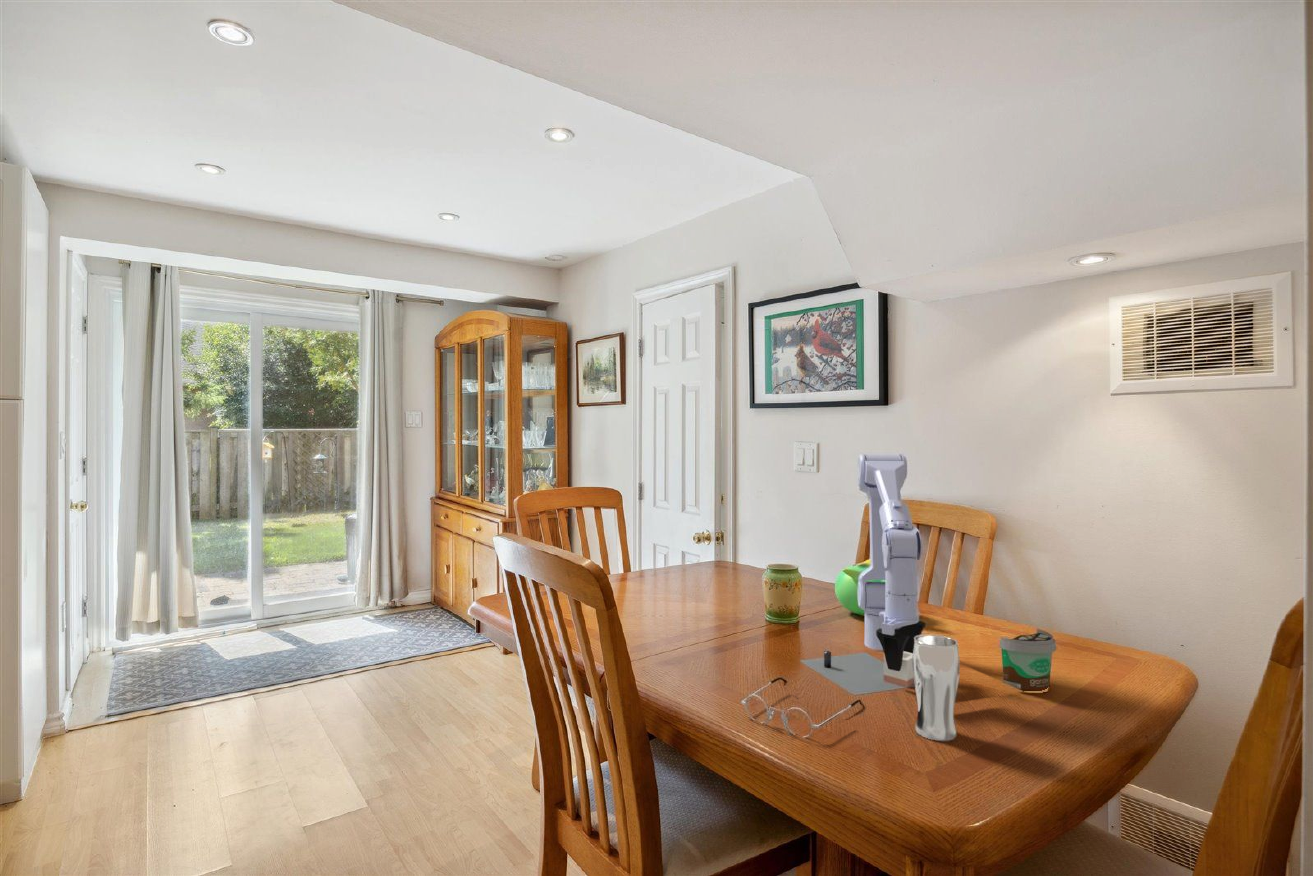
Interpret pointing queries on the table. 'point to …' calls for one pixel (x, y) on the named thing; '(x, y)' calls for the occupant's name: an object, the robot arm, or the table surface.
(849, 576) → the toy bird
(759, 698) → the eyeglasses
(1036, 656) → the food container
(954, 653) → the beer glass
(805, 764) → the table surface
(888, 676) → the sleeve
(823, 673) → the pin board
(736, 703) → the table surface
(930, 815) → the table surface
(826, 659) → the black pin
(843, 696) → the table surface
